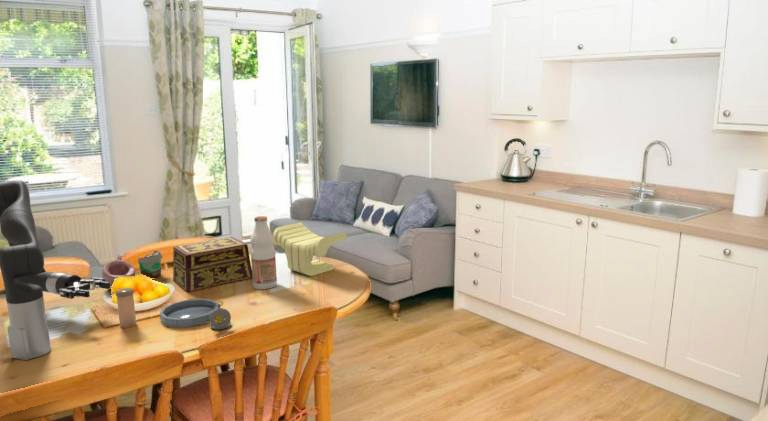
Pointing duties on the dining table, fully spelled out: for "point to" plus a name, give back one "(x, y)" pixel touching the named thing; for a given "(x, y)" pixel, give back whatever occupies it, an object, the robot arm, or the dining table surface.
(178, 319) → the round tray
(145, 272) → the food container
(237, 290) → the dining table surface
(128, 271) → the mortar and pestle
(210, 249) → the decorative box
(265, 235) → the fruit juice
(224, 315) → the grey rounded piece
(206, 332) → the dining table surface
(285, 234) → the slatted curved stool
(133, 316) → the spice jar
